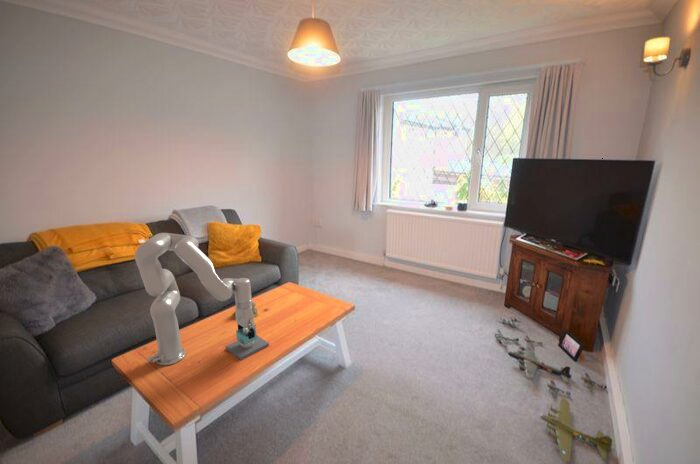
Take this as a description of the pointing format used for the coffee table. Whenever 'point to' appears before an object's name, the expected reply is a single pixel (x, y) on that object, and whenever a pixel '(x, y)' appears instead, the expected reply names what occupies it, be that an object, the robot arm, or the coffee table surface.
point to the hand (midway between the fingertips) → (246, 334)
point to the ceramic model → (253, 309)
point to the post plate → (248, 350)
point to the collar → (244, 336)
